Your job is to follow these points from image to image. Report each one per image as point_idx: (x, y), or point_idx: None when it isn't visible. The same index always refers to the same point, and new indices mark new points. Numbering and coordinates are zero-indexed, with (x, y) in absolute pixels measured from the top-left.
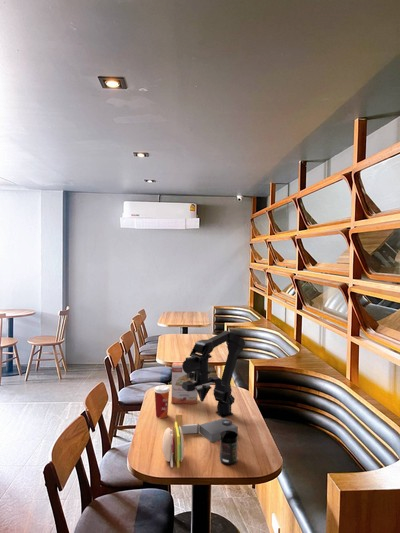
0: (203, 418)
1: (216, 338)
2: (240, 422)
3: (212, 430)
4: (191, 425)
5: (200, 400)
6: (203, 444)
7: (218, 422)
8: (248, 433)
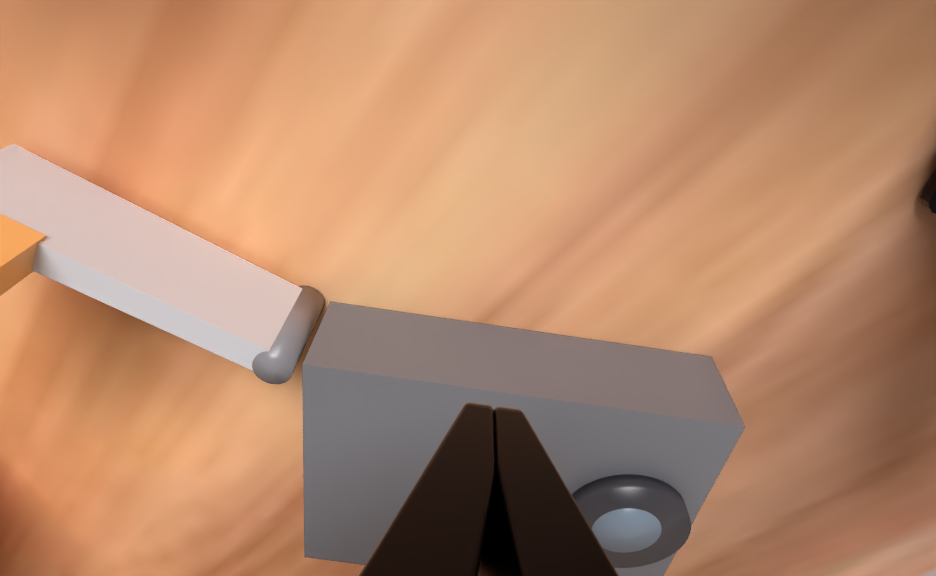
0: (682, 8)
1: None
2: (905, 415)
3: (362, 523)
4: (175, 335)
5: (458, 417)
6: (241, 467)
7: (563, 457)
8: (717, 561)
